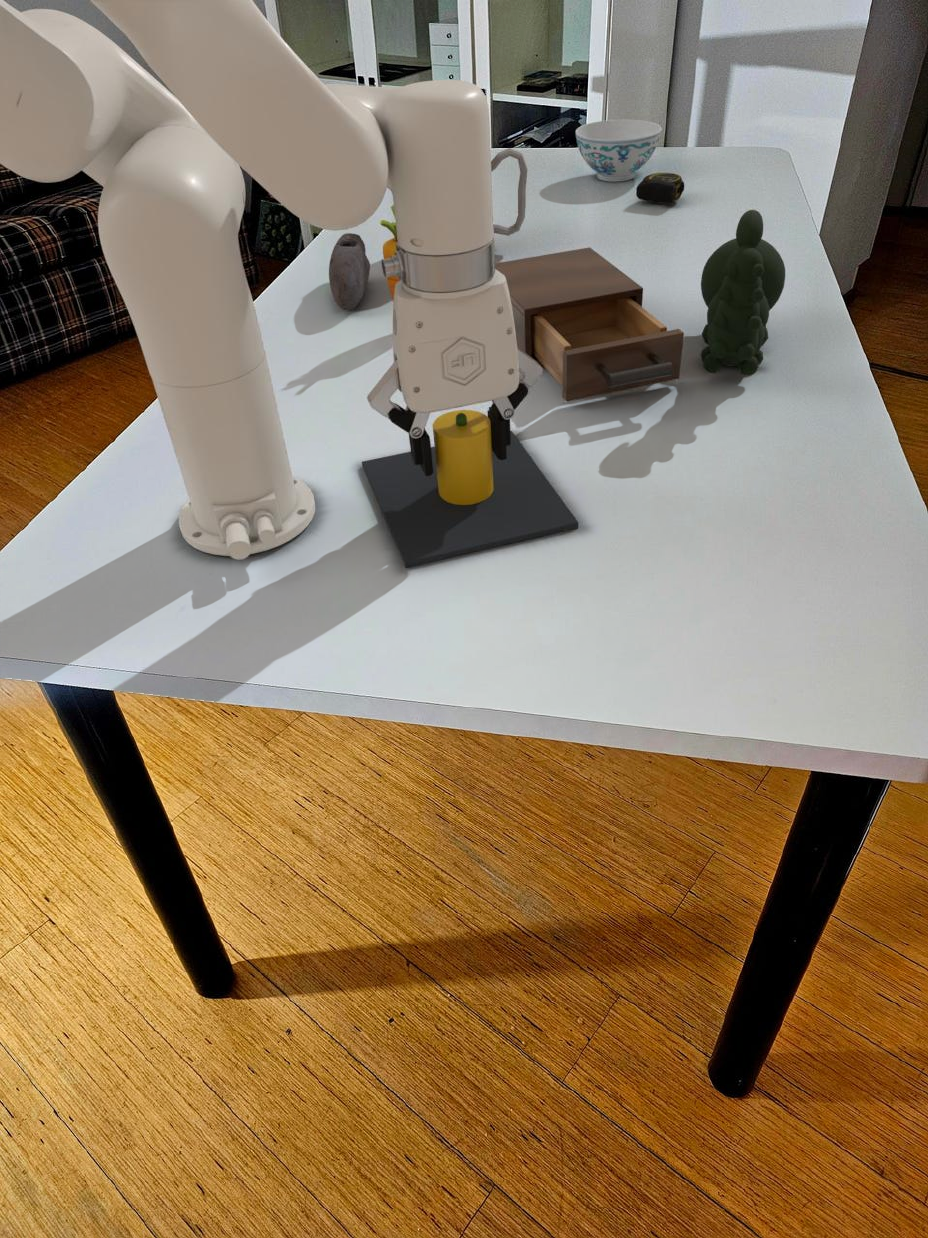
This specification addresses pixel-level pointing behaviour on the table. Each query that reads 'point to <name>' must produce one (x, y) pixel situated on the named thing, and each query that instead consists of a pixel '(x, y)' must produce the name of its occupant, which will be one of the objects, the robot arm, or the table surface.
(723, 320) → the toy figurine
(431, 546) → the mat
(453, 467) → the pepper
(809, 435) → the table surface
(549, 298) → the cabinet
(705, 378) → the table surface
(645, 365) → the drawer
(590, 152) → the chinaware
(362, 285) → the perforated stone tool
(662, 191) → the tape measure
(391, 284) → the carrot
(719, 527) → the table surface
